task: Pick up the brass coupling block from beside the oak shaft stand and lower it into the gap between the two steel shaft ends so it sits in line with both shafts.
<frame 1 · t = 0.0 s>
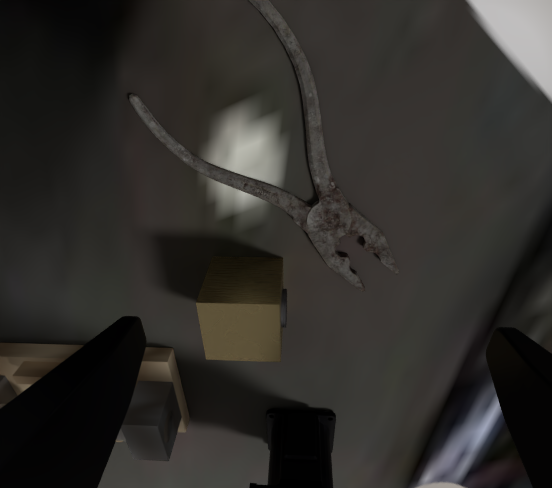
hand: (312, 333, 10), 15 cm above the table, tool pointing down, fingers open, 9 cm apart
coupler: (249, 284, 28), on the table
pliers: (306, 156, 23), on the table
shaft stand: (87, 382, 35), on the table
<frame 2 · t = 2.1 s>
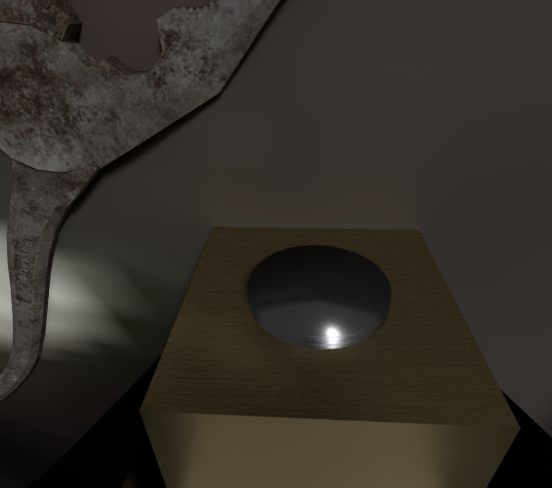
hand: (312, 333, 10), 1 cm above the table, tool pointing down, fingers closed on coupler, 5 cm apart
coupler: (311, 305, 11), on the table, touching gripper
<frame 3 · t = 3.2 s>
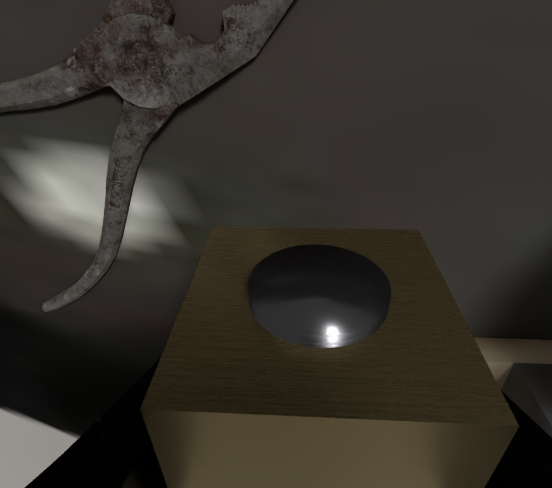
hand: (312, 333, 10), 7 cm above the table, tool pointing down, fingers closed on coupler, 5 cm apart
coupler: (311, 305, 11), point 6 cm above the table, touching gripper
pliers: (61, 104, 14), on the table
shaft stand: (497, 442, 23), on the table
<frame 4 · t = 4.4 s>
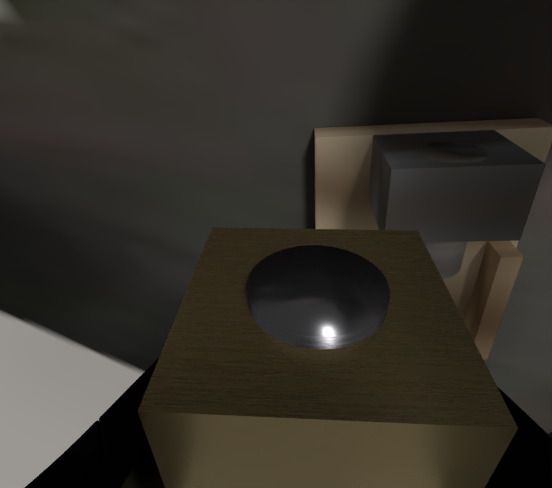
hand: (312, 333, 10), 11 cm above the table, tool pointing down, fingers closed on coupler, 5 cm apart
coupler: (310, 306, 11), point 10 cm above the table, touching gripper
shaft stand: (400, 278, 22), on the table
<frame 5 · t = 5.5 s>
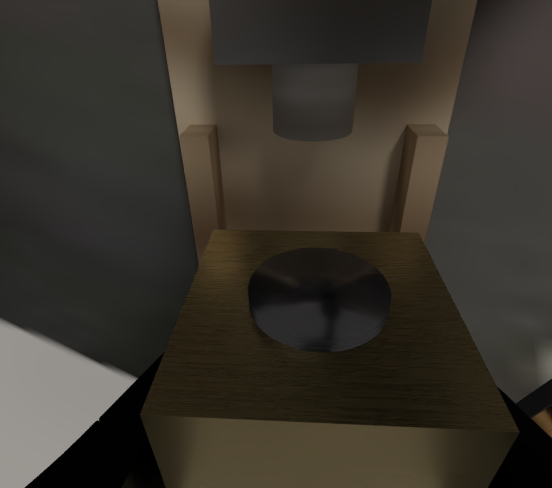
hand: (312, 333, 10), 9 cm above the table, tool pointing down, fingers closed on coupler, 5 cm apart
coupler: (311, 307, 11), point 8 cm above the table, touching gripper
shaft stand: (307, 194, 17), on the table
when the fingers open (4 cm above the table, at t = 6.6 s): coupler drops 2 cm, resting on shaft stand.
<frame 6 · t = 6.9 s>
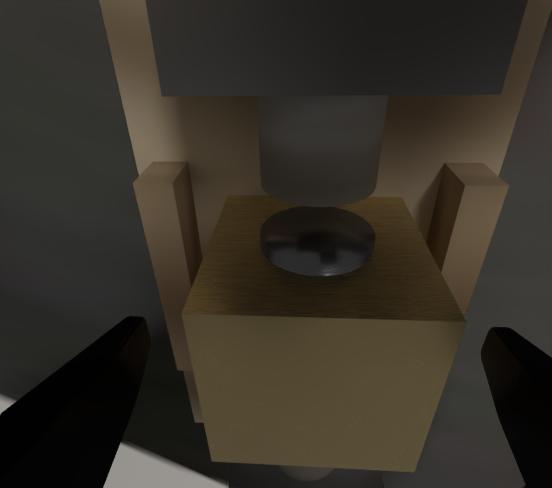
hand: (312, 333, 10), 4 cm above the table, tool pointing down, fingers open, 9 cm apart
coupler: (310, 266, 12), point 1 cm above the table, touching shaft stand
shaft stand: (309, 241, 13), on the table
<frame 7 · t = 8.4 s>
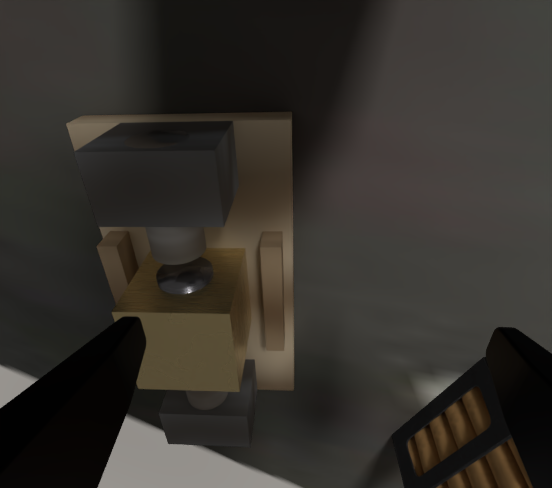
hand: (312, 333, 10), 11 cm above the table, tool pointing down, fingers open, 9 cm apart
ammunition clip: (443, 400, 28), on the table
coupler: (204, 285, 21), point 1 cm above the table, touching shaft stand
shaft stand: (209, 269, 22), on the table
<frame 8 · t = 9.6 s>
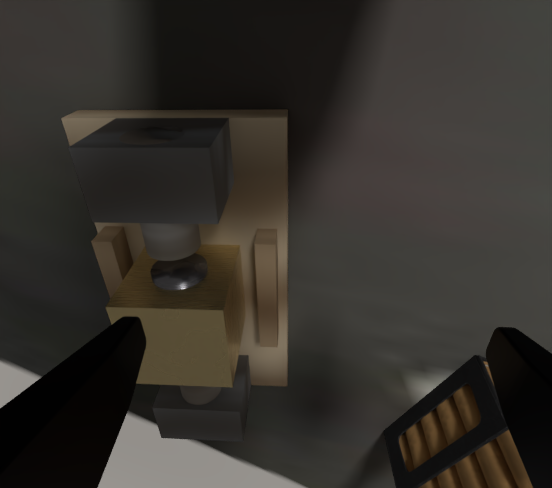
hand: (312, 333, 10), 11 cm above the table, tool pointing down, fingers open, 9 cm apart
ammunition clip: (434, 397, 28), on the table
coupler: (199, 281, 21), point 1 cm above the table, touching shaft stand
shaft stand: (204, 265, 22), on the table
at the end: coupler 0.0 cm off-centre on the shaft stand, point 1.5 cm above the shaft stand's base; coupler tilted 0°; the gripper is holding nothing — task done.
